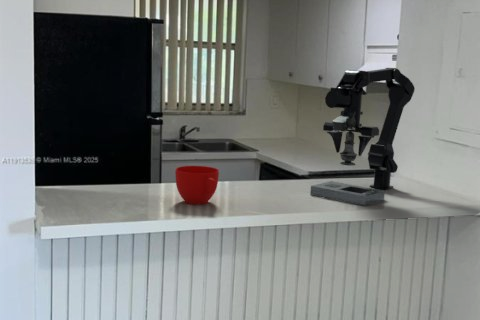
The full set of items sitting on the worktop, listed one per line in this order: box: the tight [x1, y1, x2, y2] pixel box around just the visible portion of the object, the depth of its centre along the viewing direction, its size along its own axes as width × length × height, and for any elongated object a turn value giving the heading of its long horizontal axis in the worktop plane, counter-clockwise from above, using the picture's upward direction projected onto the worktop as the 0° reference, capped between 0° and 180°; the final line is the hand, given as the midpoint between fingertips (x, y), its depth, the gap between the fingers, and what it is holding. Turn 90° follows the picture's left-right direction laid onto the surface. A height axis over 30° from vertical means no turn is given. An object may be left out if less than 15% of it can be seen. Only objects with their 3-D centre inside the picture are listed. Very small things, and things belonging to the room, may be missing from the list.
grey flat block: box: [310, 180, 385, 207], centre depth 196 cm, size 13×20×3 cm, turn 50°
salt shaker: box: [339, 131, 358, 167], centre depth 202 cm, size 6×6×12 cm
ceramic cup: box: [175, 165, 220, 205], centre depth 178 cm, size 13×17×10 cm
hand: (348, 154), depth 202 cm, fingers closed on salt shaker, 8 cm apart
